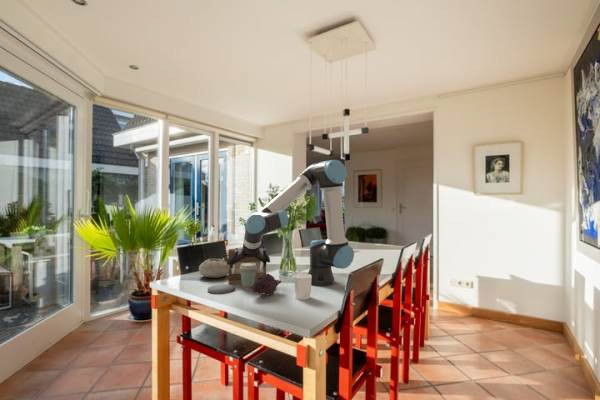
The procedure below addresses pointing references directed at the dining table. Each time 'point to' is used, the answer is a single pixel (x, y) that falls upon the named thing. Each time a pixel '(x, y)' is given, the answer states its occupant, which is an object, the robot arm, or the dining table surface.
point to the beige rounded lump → (214, 268)
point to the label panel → (236, 276)
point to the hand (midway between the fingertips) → (247, 270)
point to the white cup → (303, 286)
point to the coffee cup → (248, 274)
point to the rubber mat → (221, 289)
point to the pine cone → (265, 284)
